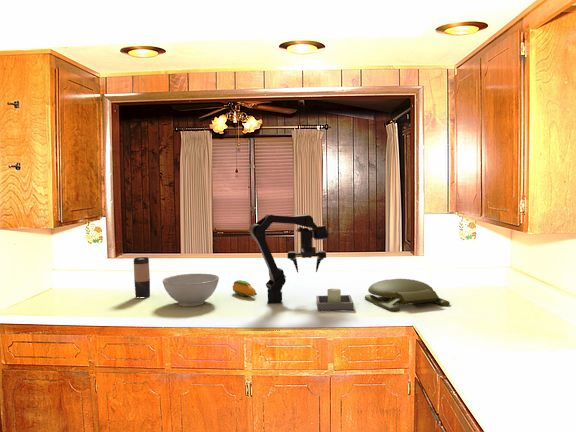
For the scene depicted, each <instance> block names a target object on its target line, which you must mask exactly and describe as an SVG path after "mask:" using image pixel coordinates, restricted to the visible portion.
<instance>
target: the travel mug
mask: <svg viewBox="0 0 576 432" xmlns="http://www.w3.org/2000/svg"><path fill="white" fill-rule="evenodd" d="M150 273H151V272H150V259H149V257H147V256H145V257H144V256H142V257H135V258H133V275H134V277H133V279H134V290H135V291H134V293H135V298H136V297H148V296H150V297H151V279H150V278H151V276H150V275H151V274H150ZM148 298H149V297H148Z"/></svg>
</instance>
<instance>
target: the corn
mask: <svg viewBox="0 0 576 432" xmlns="http://www.w3.org/2000/svg"><path fill="white" fill-rule="evenodd" d="M232 290H233V292H234V293H235V294H237V295H239V296H242V297H245V296H249V297H250V296H251V297H255V296H257V294H258V293H257V292H256V289H255V288H254V286H252V285H251V284H250V283H249V282H248V281H245V280H241V279H240V280H239V279H238V280H236V281H234V282H233V285H232Z"/></svg>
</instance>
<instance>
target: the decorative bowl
mask: <svg viewBox="0 0 576 432" xmlns="http://www.w3.org/2000/svg"><path fill="white" fill-rule="evenodd" d="M219 280H220V277H219V276H218V275H217V274H212V273H184V274H183V273H182V274H176V275H171V276H168V277H167V276H166V277H165V278H163V279H162V284H163V287H164V290H165V291H166V292H167V294H168V295H169V297H170V298H172V300H174V301H175V302H177V303H178V305H179V306H182V307H195V306H196V305H197V306H201V305H203V303H204V304H205V303H206V300H208V299H209V298H210V297H211V296H212V295H213V294H214V293H215V291H216V289H217V287H218V284H219Z"/></svg>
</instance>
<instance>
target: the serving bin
mask: <svg viewBox="0 0 576 432" xmlns="http://www.w3.org/2000/svg"><path fill="white" fill-rule="evenodd" d="M315 297H316V298H315V300H316V301H315V302H316V308H317V309H316V310H317V312H351V311H353V312H354V310H355V308H354V306H355V305H354V300H353V299H352V295H350V294H341V303H328V294H326V295H316V296H315Z"/></svg>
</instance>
